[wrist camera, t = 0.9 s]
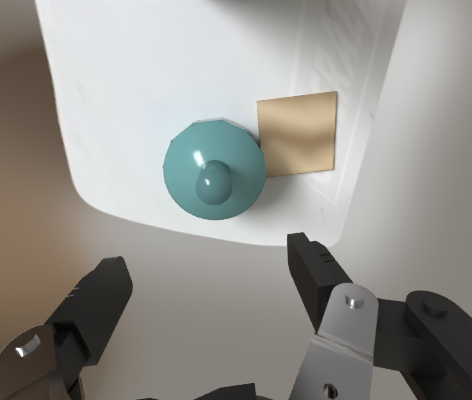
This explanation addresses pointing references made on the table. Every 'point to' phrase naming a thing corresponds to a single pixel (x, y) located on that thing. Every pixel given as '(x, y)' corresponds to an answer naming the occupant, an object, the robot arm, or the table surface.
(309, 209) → the table surface
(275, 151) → the board
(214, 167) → the teal lid with knob
